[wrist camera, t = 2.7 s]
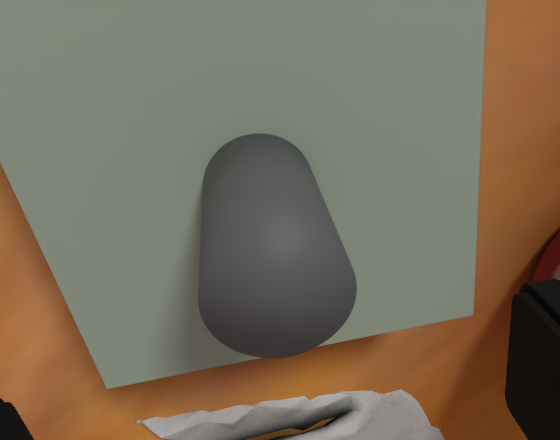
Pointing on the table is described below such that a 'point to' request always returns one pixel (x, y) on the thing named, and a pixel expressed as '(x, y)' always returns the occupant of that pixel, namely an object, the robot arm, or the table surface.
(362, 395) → the cloth
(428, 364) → the table surface
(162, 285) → the lid
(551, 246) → the citrus juicer
